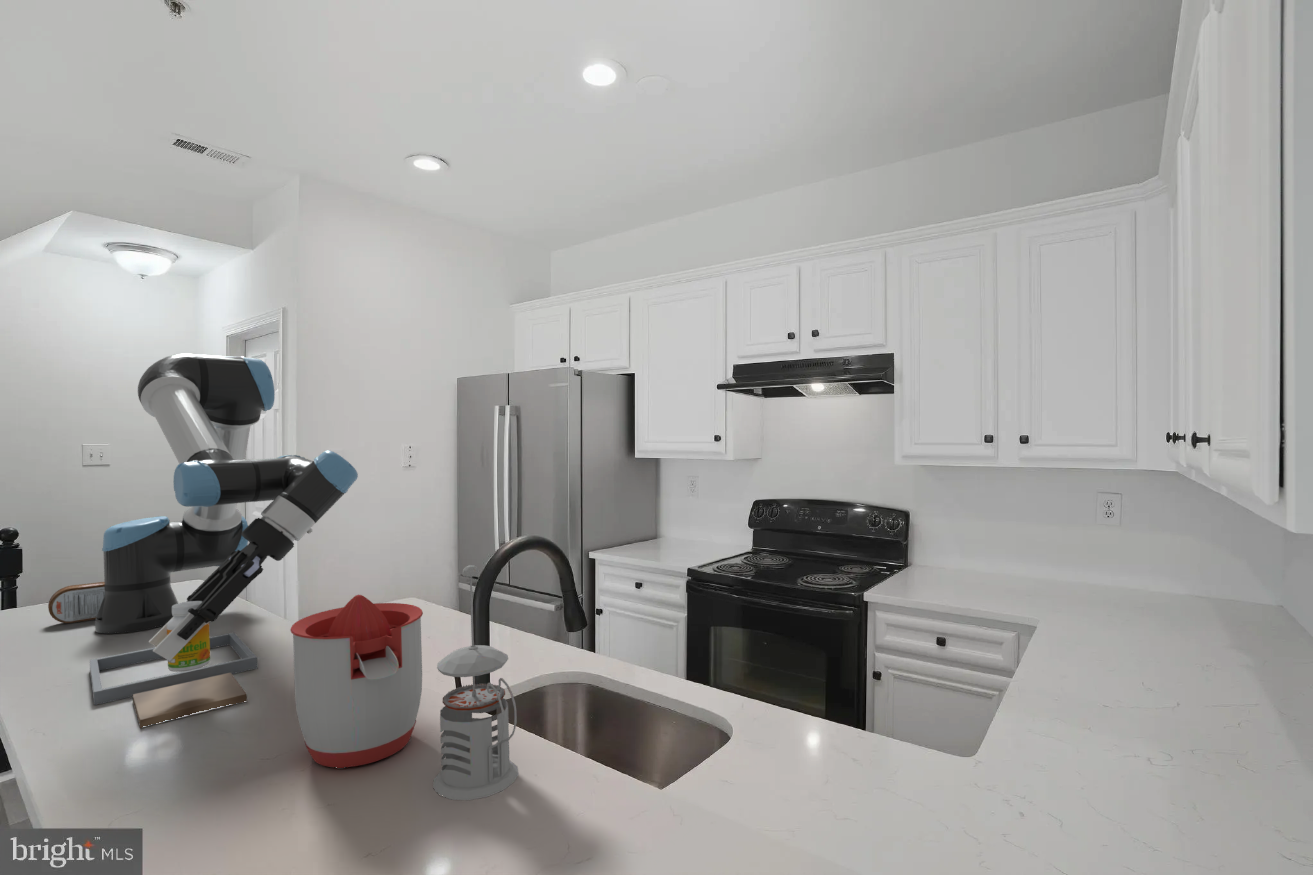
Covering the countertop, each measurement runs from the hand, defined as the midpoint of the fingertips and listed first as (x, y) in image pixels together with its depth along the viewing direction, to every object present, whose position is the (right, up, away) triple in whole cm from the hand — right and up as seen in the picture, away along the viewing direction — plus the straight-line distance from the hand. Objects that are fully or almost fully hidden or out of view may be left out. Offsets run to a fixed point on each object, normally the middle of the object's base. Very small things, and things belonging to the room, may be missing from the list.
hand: (159, 650), depth 99 cm
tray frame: (-11, -9, +18) cm, 22 cm away
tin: (-56, -10, +53) cm, 78 cm away
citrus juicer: (+38, -8, -15) cm, 41 cm away
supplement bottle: (+3, -3, +2) cm, 5 cm away
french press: (+55, -8, -23) cm, 60 cm away
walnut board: (+3, -9, +3) cm, 10 cm away
